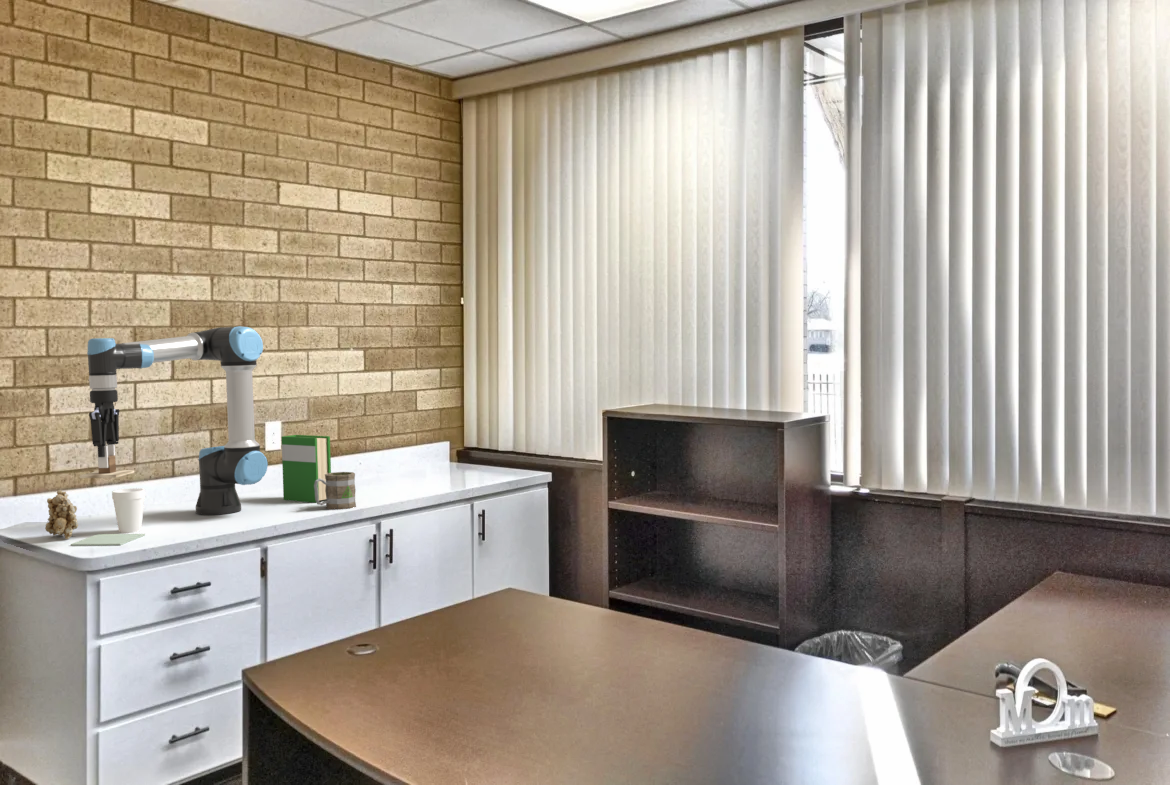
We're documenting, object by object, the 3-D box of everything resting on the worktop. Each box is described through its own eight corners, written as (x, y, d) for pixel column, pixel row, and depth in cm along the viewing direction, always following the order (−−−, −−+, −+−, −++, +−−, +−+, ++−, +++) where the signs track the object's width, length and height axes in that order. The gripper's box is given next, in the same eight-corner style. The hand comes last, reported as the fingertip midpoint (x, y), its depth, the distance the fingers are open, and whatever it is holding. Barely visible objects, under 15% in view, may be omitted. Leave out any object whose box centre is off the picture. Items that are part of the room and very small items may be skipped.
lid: (134, 472, 303) (133, 453, 303) (116, 477, 292) (115, 458, 292) (99, 473, 303) (98, 454, 303) (79, 478, 292) (78, 458, 292)
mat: (145, 535, 305) (145, 533, 305) (120, 545, 290) (120, 543, 290) (97, 535, 306) (97, 534, 306) (70, 545, 291) (70, 544, 291)
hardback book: (331, 500, 369) (329, 436, 368) (317, 503, 363) (315, 438, 361) (298, 497, 378) (296, 434, 377) (283, 499, 372) (281, 436, 370)
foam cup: (133, 534, 307) (131, 492, 307) (107, 533, 309) (105, 492, 308) (152, 528, 317) (151, 488, 316) (127, 527, 318) (125, 488, 318)
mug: (345, 503, 360) (344, 471, 359) (362, 506, 353) (361, 473, 352) (307, 509, 349) (306, 475, 348) (323, 512, 341) (322, 478, 341)
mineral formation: (68, 533, 311) (66, 486, 310) (87, 538, 302) (85, 489, 302) (41, 537, 305) (39, 489, 304) (59, 542, 296) (57, 493, 295)
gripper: (105, 388, 305) (109, 463, 306) (76, 391, 288) (80, 470, 289) (129, 387, 304) (132, 463, 306) (101, 390, 288) (105, 470, 289)
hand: (107, 466), depth 298 cm, fingers closed on lid, 3 cm apart
